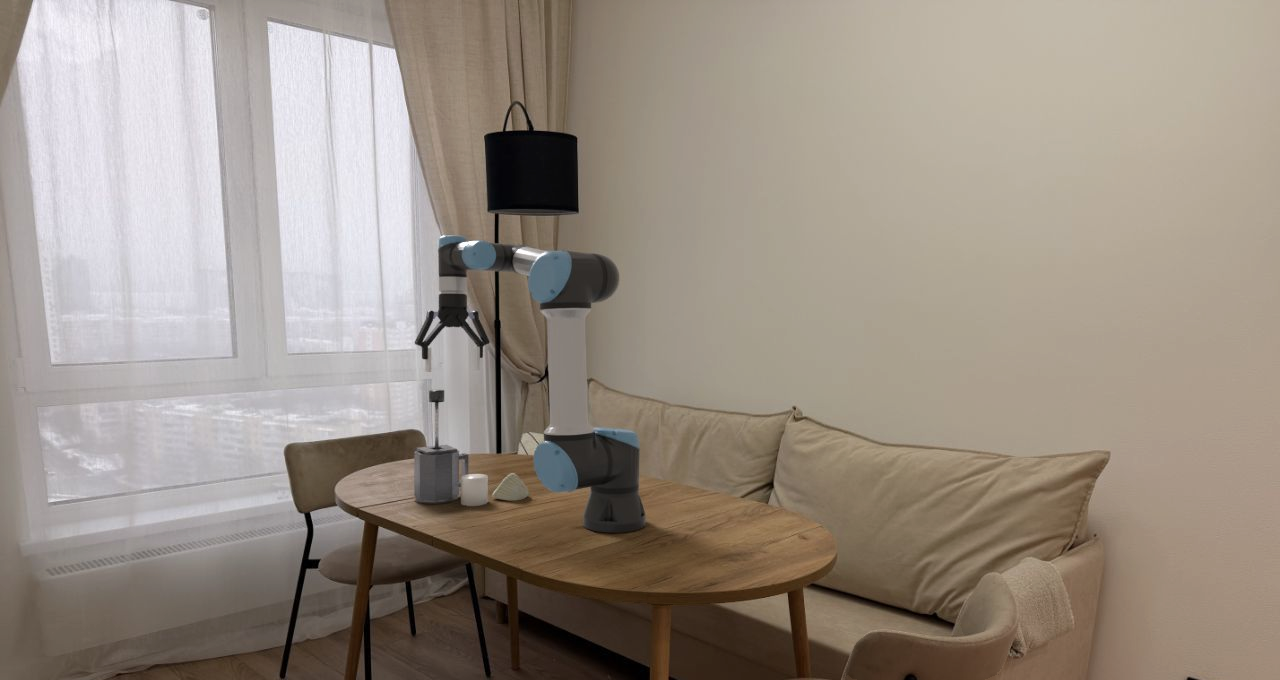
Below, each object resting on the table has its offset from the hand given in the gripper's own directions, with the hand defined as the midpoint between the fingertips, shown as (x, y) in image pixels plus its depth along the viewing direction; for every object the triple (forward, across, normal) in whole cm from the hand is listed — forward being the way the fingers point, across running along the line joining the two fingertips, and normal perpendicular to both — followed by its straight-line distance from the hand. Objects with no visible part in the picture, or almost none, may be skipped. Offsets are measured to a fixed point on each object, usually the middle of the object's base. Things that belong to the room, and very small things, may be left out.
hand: (453, 371), depth 209 cm
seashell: (+35, -13, +9) cm, 38 cm away
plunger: (+24, +5, +1) cm, 24 cm away
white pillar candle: (+35, -2, +10) cm, 36 cm away
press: (+34, +3, +1) cm, 35 cm away
